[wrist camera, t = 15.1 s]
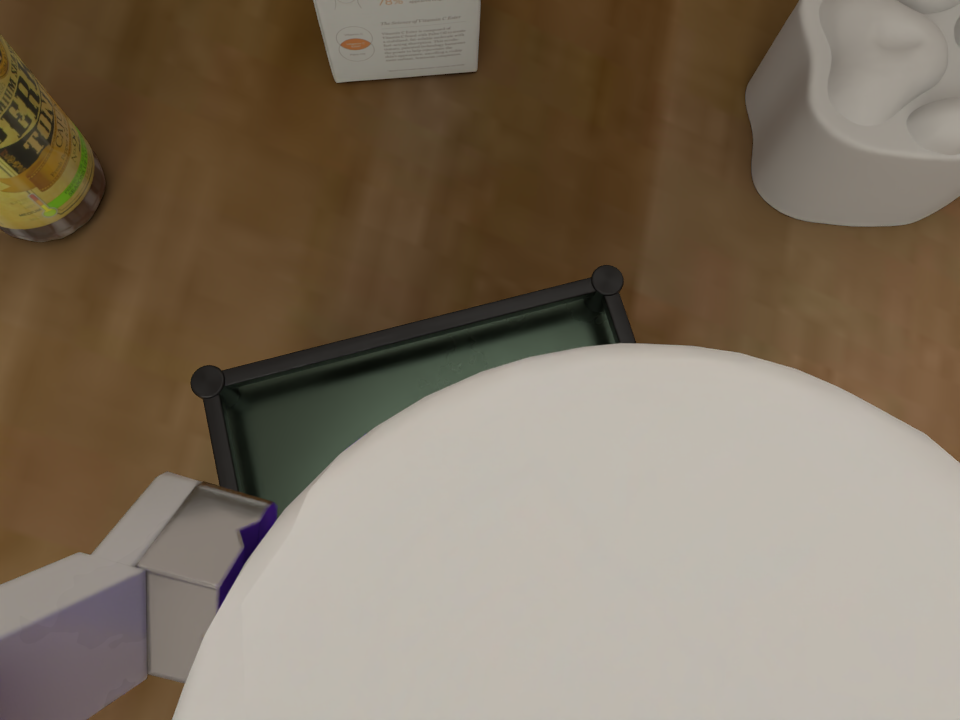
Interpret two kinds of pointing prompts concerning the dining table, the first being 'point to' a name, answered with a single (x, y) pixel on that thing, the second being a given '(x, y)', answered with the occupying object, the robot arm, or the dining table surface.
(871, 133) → the lumpy-topped squat cylinder
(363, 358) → the tray
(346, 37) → the small box
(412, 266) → the dining table surface
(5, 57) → the sauce bottle
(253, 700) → the bottle
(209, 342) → the dining table surface
